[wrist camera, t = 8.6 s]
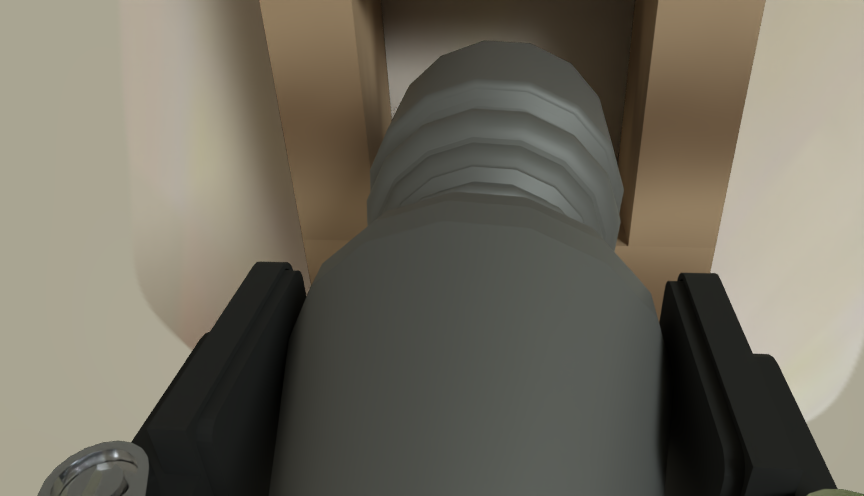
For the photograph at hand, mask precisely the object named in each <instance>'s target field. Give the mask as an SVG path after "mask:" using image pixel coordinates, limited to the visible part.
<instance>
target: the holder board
mask: <svg viewBox="0 0 864 496" xmlns="http://www.w3.org/2000/svg"><path fill="white" fill-rule="evenodd" d="M765 1H766V0H635V7H634V16H633V26H632V35H631V45H630V54H629V64H628V74H627V83H626V93H625V102H624V112H623V121H622V131H621V140H620V150H619V160H618V169H619V172H620V176H621V180H622V184H623V188H624V192H623V197H622V202H621V207H620V212H619V216H620V220H621V222H620V227H619V232H618V237H617V242H616V247H615V253H616V254H617V255H618V256H619V257H620V259H621V260H622V261H623V262H624V263H625V264H626V265H627V266H628V267H629V268H630V270H631V271H632V272H633V273H634V274H635V275H636V276H637V277H638V279H639V280H640V281H641V282H642V283H643V284H644V286H645V287H646V288H647V289H648V290H649V292H650V293H651V295H652V299H653V302H654V306H655V310H656V313H657V317H658V321H660V315H661V308H662V302H663V296H664V290H665V285H666V283H667V281H677V279H678V276H679V274H680V273H681V272H682V273H710V271H711V266H712V261H713V256H714V251H715V246H716V241H717V236H718V231H719V226H720V222H721V217H722V212H723V207H724V202H725V197H726V192H727V187H728V182H729V177H730V173H731V168H732V163H733V158H734V153H735V148H736V143H737V138H738V133H739V128H740V124H741V119H742V114H743V109H744V104H745V99H746V94H747V89H748V84H749V79H750V75H751V70H752V65H753V60H754V55H755V50H756V45H757V40H758V35H759V30H760V26H761V21H762V16H763V11H764V6H765ZM259 2H260V8H261V13H262V19H263V24H264V30H265V35H266V41H267V46H268V52H269V57H270V63H271V68H272V74H273V79H274V84H275V90H276V95H277V101H278V106H279V112H280V117H281V123H282V128H283V134H284V139H285V145H286V150H287V156H288V161H289V167H290V172H291V178H292V183H293V189H294V194H295V200H296V205H297V211H298V216H299V221H300V227H301V232H302V238H303V243H304V249H305V254H306V260H307V265H308V271H309V276H310V282H311V285H312V283H313V281H314V279H315V277H316V275H317V273H318V271H319V269H320V267H321V265H322V263H324V262H325V261H326V260H327V259H328V258H330V257H331V256H332V255H333V254H335V253H336V252H337V251H338V250H339V249H341V248H342V247H343V246H344V245H345V244H347V243H348V242H349V241H350V240H352V239H353V238H354V237H355V236H356V235H358V234H359V233H360V232H361V231H362V230H364V229H365V228H366V227H367V199H368V196H369V194H370V169H371V166H372V164H373V162H374V159H375V157H376V155H377V152H378V150H379V148H380V145H381V143H382V141H383V138H384V136H385V134H386V131H387V129H388V127H389V125H390V123H391V121H392V119H391V107H390V96H389V85H388V74H387V63H386V52H385V40H384V29H383V18H382V7H381V0H259Z"/></svg>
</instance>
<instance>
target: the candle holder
mask: <svg viewBox="0 0 864 496" xmlns="http://www.w3.org/2000/svg"><path fill="white" fill-rule="evenodd" d="M623 192H624V188H623V184H622V180H621V176H620V172H619V169H618V165H617V161H616V157H615V153H614V150H613V146H612V142H611V138H610V135H609V131H608V128H607V124H606V120H605V117H604V113H603V110H602V106H601V102H600V99H599V97H598V95H597V94H596V93H595V92H594V90H593V89H592V88H591V87H590V86H589V84H588V83H587V82H586V81H585V80H584V78H583V77H582V76H581V75H580V74H579V72H578V71H577V70H576V69H575V68H574V66H573V65H572V64H571V63H569V62H567V61H565V60H563V59H561V58H559V57H557V56H555V55H553V54H551V53H549V52H547V51H545V50H543V49H541V48H539V47H537V46H535V45H533V44H531V43H516V42H498V41H482V42H479V43H476V44H473V45H471V46H468V47H465V48H462V49H459V50H456V51H454V52H451V53H448V54H445V55H442V56H441V57H440V58H438V59H437V60H436V61H435V62H434V63H433V64H432V65H431V66H430V67H429V68H428V69H427V70H425V71H424V72H423V73H422V74H421V75H420V76H419V77H418V78H417V79H416V80H415V81H414V82H413V83H411V84H410V85H409V87H408V89H407V91H406V93H405V95H404V97H403V99H402V101H401V103H400V105H399V107H398V109H397V111H396V113H395V115H394V117H393V119H392V121H391V123H390V125H389V127H388V129H387V131H386V134H385V136H384V138H383V141H382V143H381V145H380V148H379V150H378V152H377V155H376V157H375V159H374V162H373V164H372V166H371V169H370V194H369V196H368V199H367V227H366V228H365V229H364V230H362V231H361V232H360V233H359V234H358V235H356V236H355V237H354V238H353V239H352V240H350V241H349V242H348V243H347V244H345V245H344V246H343V247H342V248H341V249H339V250H338V251H337V252H336V253H335V254H333V255H332V256H331V257H330V258H328V259H327V260H326V261H325V262H324V263H322V265H321V267H320V269H319V271H318V273H317V275H316V277H315V279H314V281H313V283H312V285H311V287H310V290H309V292H308V295H307V297H306V299H305V302H304V304H303V306H302V309H301V311H300V314H299V316H298V318H297V321H296V323H295V325H294V328H293V330H292V333H291V335H290V337H289V341H288V348H287V356H286V364H285V372H284V380H283V388H282V396H281V404H280V412H279V420H278V428H277V436H276V444H275V452H274V459H273V467H272V474H271V482H270V489H269V496H664V493H665V481H666V469H667V457H668V445H669V433H670V421H671V408H672V395H673V380H672V370H671V366H670V363H669V359H668V355H667V351H666V347H665V344H664V340H663V336H662V332H661V328H660V325H659V321H658V317H657V313H656V310H655V306H654V302H653V299H652V295H651V293H650V292H649V290H648V289H647V288H646V287H645V286H644V284H643V283H642V282H641V281H640V280H639V279H638V277H637V276H636V275H635V274H634V273H633V272H632V271H631V270H630V268H629V267H628V266H627V265H626V264H625V263H624V262H623V261H622V260H621V259H620V257H619V256H618V255H617V254H616V253H615V247H616V242H617V237H618V232H619V227H620V222H621V220H620V216H619V212H620V207H621V202H622V197H623Z"/></svg>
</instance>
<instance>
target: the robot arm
mask: <svg viewBox="0 0 864 496" xmlns="http://www.w3.org/2000/svg"><path fill="white" fill-rule="evenodd" d="M305 299H306V292H305V287H304V281H303V277H302V274H301V272H300V271H293V268H292V266H291V265H290V264H289V263H288V262H257V263H256V264H255V265H254V266H253V267H252V269H251V270H250V272H249V273H248V275H247V276H246V278H245V280H244V281H243V283H242V284H241V286H240V287H239V289H238V290H237V292H236V293H235V295H234V296H233V298H232V299H231V301H230V302H229V304H228V305H227V307H226V308H225V310H224V311H223V313H222V314H221V316H220V317H219V319H218V320H217V322H216V324H215V325H214V327H213V328H212V330H211V331H210V332H208V333H206V334H205V335H204V336H203V337H202V338H201V339H200V340H199V342H198V343H197V345H196V346H195V348H194V349H193V351H192V352H191V354H190V355H189V357H188V358H187V360H186V361H185V363H184V364H183V366H182V367H181V369H180V370H179V372H178V373H177V375H176V376H175V378H174V379H173V381H172V382H171V384H170V385H169V387H168V388H167V390H166V391H165V393H164V394H163V396H162V397H161V399H160V400H159V402H158V403H157V405H156V406H155V408H154V409H153V411H152V412H151V414H150V415H149V416H148V418H147V419H146V421H145V422H144V424H143V425H142V427H141V428H140V430H139V431H138V433H137V434H136V436H135V437H134V439H133V441H132V442H124V441H112V442H103V443H100V444H97V445H94V446H91V447H88V448H85V449H84V450H82V451H79V452H78V453H76V454H74V455H72V456H70V457H69V458H68V459H66V460H65V461H64V462H62V463H61V464H60V465H59V466H57V467H56V468H55V469H54V470H53V472H52V473H51V474H50V475H49V476H48V477H47V478H46V480H45V481H44V483H43V485H42V487H41V489H40V491H39V493H38V496H269V489H270V482H271V474H272V467H273V459H274V452H275V444H276V436H277V428H278V420H279V412H280V404H281V396H282V388H283V380H284V372H285V364H286V356H287V348H288V341H289V337H290V335H291V333H292V330H293V328H294V325H295V323H296V321H297V318H298V316H299V314H300V311H301V309H302V306H303V304H304V302H305ZM659 325H660V328H661V332H662V336H663V340H664V344H665V347H666V351H667V355H668V359H669V363H670V366H671V370H672V380H673V395H672V408H671V421H670V433H669V445H668V457H667V469H666V481H665V493H664V496H864V494H862V493H857V492H853V491H848V490H844V489H837V487H836V485H835V482H834V480H833V479H832V476H831V474H830V472H829V470H828V468H827V466H826V464H825V462H824V459H823V457H822V455H821V453H820V451H819V449H818V447H817V445H816V443H815V441H814V439H813V436H812V434H811V433H810V430H809V428H808V426H807V424H806V422H805V420H804V418H803V416H802V413H801V411H800V409H799V407H798V405H797V403H796V401H795V399H794V397H793V395H792V392H791V390H790V388H789V386H788V384H787V382H786V380H785V378H784V376H783V374H782V372H781V369H780V367H779V365H778V364H777V362H776V360H775V359H774V357H772V356H771V355H769V354H753V353H752V351H751V348H750V346H749V344H748V342H747V339H746V337H745V335H744V332H743V330H742V328H741V326H740V323H739V321H738V319H737V316H736V314H735V312H734V310H733V307H732V305H731V303H730V300H729V298H728V296H727V294H726V291H725V289H724V287H723V284H722V282H721V280H720V278H719V276H718V275H717V274H715V273H682V272H681V273H680V274H679V276H678V279H677V281H667V283H666V285H665V290H664V296H663V302H662V308H661V315H660V321H659Z"/></svg>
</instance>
